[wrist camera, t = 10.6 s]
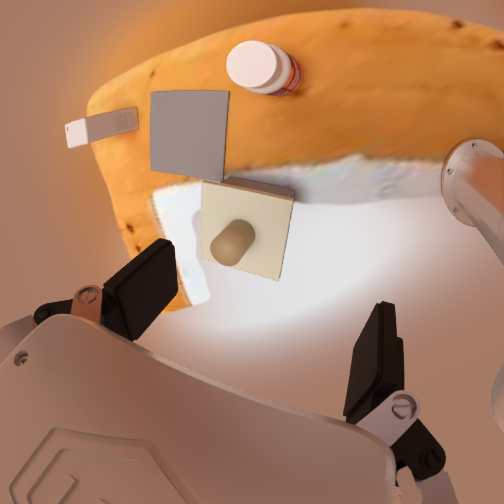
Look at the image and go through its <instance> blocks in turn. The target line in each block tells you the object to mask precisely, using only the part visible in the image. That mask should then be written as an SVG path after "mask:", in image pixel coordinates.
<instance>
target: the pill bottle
mask: <svg viewBox="0 0 504 504" xmlns="http://www.w3.org/2000/svg"><path fill="white" fill-rule="evenodd" d="M226 68H227V72H228V75H229V76H230V78H231V79H232V80H233V81H234V82H235V83H236V84H238V85H240V86H243V87H244V88H245V89H247V90H249V91H251V92H253V93H257V94H265V95H273V96H285V95H289V94H291V93H293V92H294V91H296V90H297V89H298V87H299V86H300V84H301V82H302V79H303V72H302V68H301V66H300V64H299V63H298V62H297V61H296V60H295V59H294V58H293V57H291V56H290V55H289V54H288V53H286V52H285V51H284V50H283V49H281V48H280V47H278V46H276V45H273V44H270V43H263V42H260V41H246V42H242V43H240V44H239V45H237V46H236V47H234V48H233V50H232V51H231V52H230V54H229V55H228V58H227V63H226Z"/></svg>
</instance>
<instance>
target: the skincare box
mask: <svg viewBox="0 0 504 504" xmlns="http://www.w3.org/2000/svg"><path fill="white" fill-rule="evenodd" d="M136 129H139V124H138V115H137V107H134V108H128V109H122V110H117V111H112V112H107V113H102V114H97V115H93V116H89V117H85V118H82V119H79V120H76V121H73V122H71V123H68V124H65V131H66V138H67V144H68V148H73V147H77V146H80V145H84V144H88V143H91V142H94V141H98V140H101V139H104V138H107V137H111V136H114V135H118V134H121V133H125V132H129V131H133V130H136Z"/></svg>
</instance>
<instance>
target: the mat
mask: <svg viewBox="0 0 504 504" xmlns="http://www.w3.org/2000/svg"><path fill="white" fill-rule="evenodd" d="M229 95H230V91H160V92H151V107H150V157H151V171H158V172H165V173H172V174H178V175H184V176H190V177H196V178H202V179H208V180H213V181H219V182H222V181H223V180H224V163H225V148H226V133H227V120H228V107H229Z"/></svg>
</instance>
